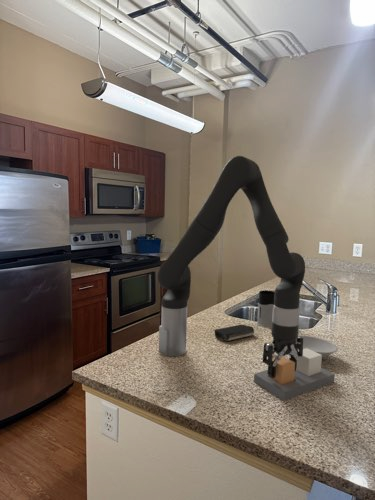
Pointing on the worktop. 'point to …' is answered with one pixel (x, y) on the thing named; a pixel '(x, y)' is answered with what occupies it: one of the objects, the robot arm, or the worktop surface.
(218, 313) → the worktop surface
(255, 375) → the square-hole base plate
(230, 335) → the black sponge
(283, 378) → the plug
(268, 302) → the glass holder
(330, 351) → the dish
